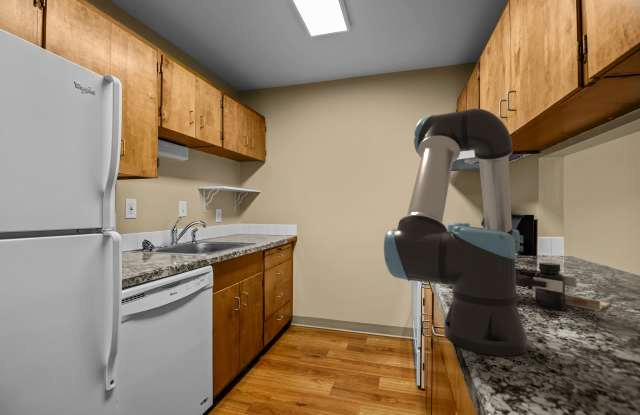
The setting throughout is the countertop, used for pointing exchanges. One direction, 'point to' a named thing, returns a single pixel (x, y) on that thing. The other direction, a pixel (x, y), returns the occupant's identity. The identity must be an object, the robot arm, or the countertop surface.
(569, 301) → the flat beige box
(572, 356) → the countertop surface
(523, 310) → the countertop surface
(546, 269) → the supplement bottle
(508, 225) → the robot arm
